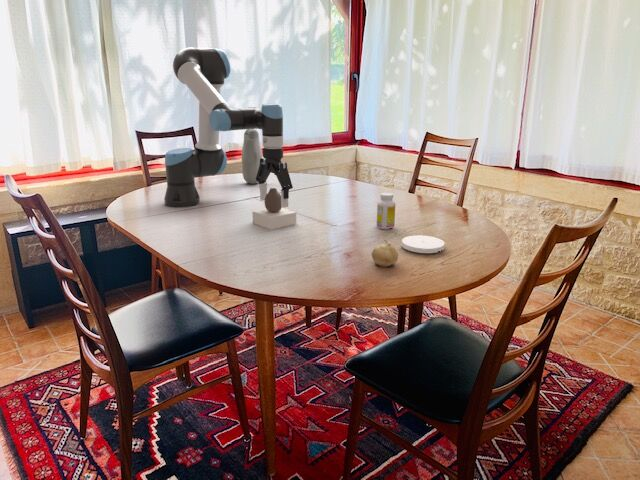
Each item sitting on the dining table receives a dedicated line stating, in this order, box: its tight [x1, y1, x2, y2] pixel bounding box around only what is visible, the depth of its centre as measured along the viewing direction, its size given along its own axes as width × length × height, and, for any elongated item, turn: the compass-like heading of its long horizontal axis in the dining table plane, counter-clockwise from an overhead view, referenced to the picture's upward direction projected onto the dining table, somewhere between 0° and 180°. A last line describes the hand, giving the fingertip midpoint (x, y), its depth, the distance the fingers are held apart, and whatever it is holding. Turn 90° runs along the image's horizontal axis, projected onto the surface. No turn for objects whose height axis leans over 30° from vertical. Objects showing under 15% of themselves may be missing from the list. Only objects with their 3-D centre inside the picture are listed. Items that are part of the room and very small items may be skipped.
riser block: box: [251, 207, 297, 230], centre depth 194 cm, size 12×12×5 cm
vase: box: [264, 187, 282, 212], centre depth 192 cm, size 7×7×9 cm
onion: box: [371, 240, 399, 268], centre depth 153 cm, size 8×8×7 cm
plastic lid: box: [401, 234, 446, 254], centre depth 168 cm, size 14×14×2 cm
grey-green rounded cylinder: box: [241, 129, 263, 185], centre depth 259 cm, size 10×10×28 cm
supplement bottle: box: [376, 192, 396, 230], centre depth 188 cm, size 7×7×13 cm
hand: (273, 203), depth 192 cm, fingers open, 13 cm apart
